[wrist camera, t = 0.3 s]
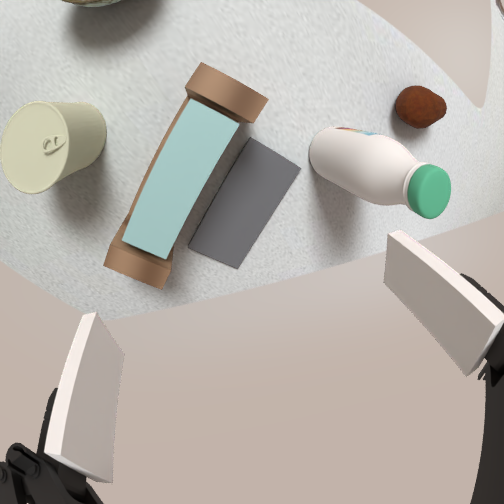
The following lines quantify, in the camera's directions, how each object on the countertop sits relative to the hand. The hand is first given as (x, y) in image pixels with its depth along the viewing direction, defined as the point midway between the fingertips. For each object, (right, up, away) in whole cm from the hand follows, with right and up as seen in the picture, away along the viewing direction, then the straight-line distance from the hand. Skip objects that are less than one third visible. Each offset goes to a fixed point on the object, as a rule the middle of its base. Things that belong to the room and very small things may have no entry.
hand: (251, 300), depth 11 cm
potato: (+25, +25, +23) cm, 42 cm away
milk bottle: (+11, +16, +25) cm, 31 cm away
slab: (-8, +10, +16) cm, 21 cm away
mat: (-1, +8, +26) cm, 27 cm away
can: (-23, +17, +16) cm, 33 cm away
